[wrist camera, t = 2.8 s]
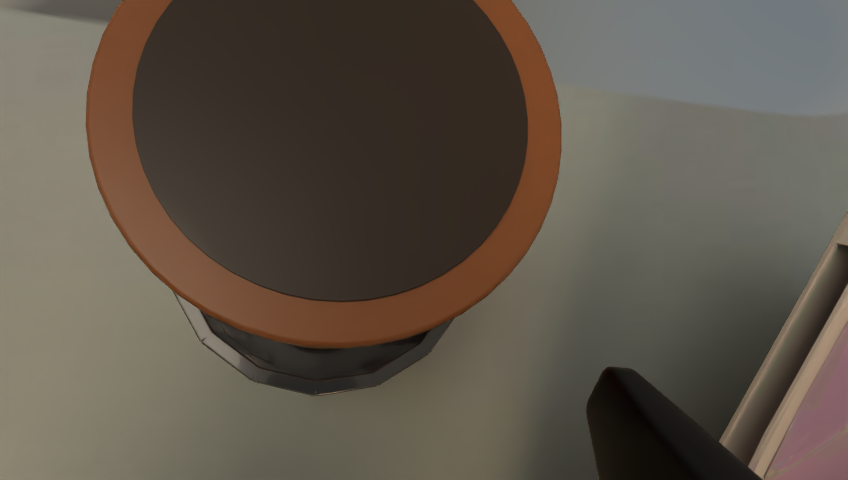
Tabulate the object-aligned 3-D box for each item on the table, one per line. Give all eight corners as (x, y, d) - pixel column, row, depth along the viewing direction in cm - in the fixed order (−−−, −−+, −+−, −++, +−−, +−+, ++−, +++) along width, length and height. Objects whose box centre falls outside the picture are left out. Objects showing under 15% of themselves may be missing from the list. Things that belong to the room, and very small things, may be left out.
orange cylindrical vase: (385, 371, 18) (518, 403, 6) (211, 328, 17) (-11, 269, 5) (426, 210, 19) (598, -12, 8) (266, 163, 18) (184, -164, 7)
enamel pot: (404, 407, 18) (436, 425, 13) (173, 351, 17) (119, 349, 12) (454, 197, 20) (499, 147, 15) (249, 135, 19) (227, 61, 14)
